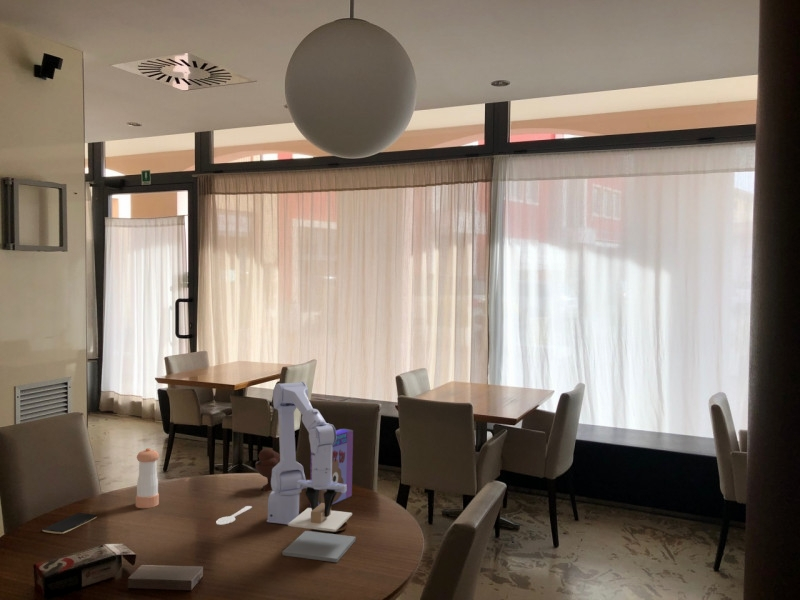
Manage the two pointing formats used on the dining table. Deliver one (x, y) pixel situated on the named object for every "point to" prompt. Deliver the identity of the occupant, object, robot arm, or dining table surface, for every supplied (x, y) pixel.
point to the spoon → (231, 518)
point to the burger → (338, 529)
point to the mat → (319, 546)
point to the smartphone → (69, 523)
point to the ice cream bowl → (267, 465)
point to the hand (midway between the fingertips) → (321, 514)
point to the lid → (320, 519)
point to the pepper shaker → (147, 479)
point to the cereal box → (340, 464)
